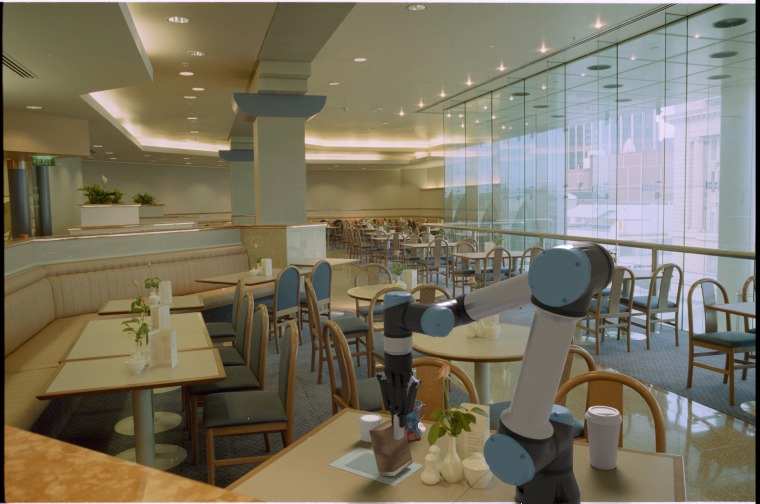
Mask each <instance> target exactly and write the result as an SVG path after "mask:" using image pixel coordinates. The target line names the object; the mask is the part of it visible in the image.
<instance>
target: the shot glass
mask: <svg viewBox="0 0 760 504" xmlns="http://www.w3.org/2000/svg"><path fill="white" fill-rule="evenodd" d="M358 419H359V420H358V421H359V422H358V423H359V430H360V436H361V437H360V438H361V441H363V442H367V443H372V441H371V437H370V433H369V431H370V430H371V429H373V428H375V427H377V426H379V425H380V424H382V415H380V414H376V413H366V414H363V415H360V416H359V418H358Z"/></svg>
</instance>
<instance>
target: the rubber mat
mask: <svg viewBox="0 0 760 504" xmlns="http://www.w3.org/2000/svg"><path fill="white" fill-rule="evenodd" d="M328 466H330V467H333V468H337V469H340V470H342V471H347V472H349V473H352V474H356V475H358V476H360V477H361V476H362V477H364V478H367V479H370V480H372V481H373V480H374V481H377V482H379V483H383V484H385V485H388V486H392V487H395V486H397V485H398V484H400V483H401V482H402V481H404V480H405V479H406V478H408V477H409V476H411V475H412V474H413V473H415V472H416V471H418V470H419V469H421V468H422V467H423V466H424V465H423V464H420V463H416V462H413V463H412V464H411V465H409V466H408V467H406V468H405V469H404V470H402V471H401V472H399V473H398V474H396V475H395V476H379V472H378V468H377V463H376V459H375V455H374V450H373V449H368V448H365V447H362V446H361V447H360V446H359V447H357V448H355V449H353V450H352V451H350V452H348V453H347V454H344V455H343V456H341V457H339V458H337V459H336V460H334V461H333V462H331V463H329V464H328Z"/></svg>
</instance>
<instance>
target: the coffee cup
mask: <svg viewBox="0 0 760 504" xmlns="http://www.w3.org/2000/svg"><path fill="white" fill-rule="evenodd" d="M584 418H585V420H586V426H587V438H588V440H587V441H588V451H589V463H590V465H591V467H594V468H595V469H598V470H602V471H603V470H604V471H611V470H613V469H616V466H617V457H618V449H619V448H618V447H619V439H620V431H621V424H622V422H623V416H622V415H621V413H620V411H619V410H618V409H617V408H614V407H610V406H605V405H594V406H590V407H588V409H587V411H586V412H585V414H584Z"/></svg>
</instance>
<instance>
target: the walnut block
mask: <svg viewBox="0 0 760 504" xmlns="http://www.w3.org/2000/svg"><path fill="white" fill-rule="evenodd" d="M391 420H392V419H388V420H386V421H384V422H381V424H380V425H379V426H377V427H375V428H373V429H371V430H370V431H369V433H370V437H371V441H372V442H371V446H372V451H374V455H375V459H376V463H377V468H378V472H379V476H395V475H396V474H398V473H399V472H401V471H402V470H404V469H405V468H406V467H408V466H409V465H411V464H412V463H414V461H413V457H412V453H411V448H410V444H409V441H408V439H407V434H406V430H405V427H404V437H403V438H401V439H400V440H395V439H394V426H393V425H392V423H391Z"/></svg>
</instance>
